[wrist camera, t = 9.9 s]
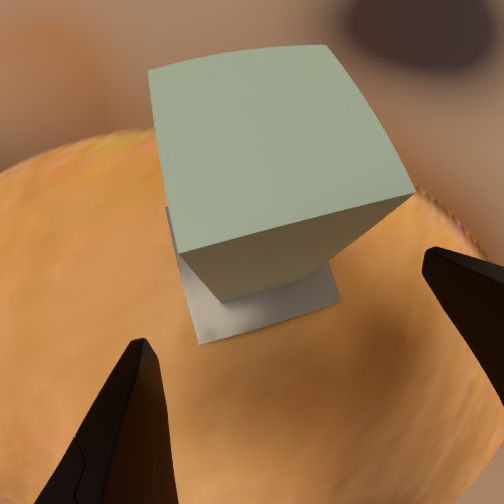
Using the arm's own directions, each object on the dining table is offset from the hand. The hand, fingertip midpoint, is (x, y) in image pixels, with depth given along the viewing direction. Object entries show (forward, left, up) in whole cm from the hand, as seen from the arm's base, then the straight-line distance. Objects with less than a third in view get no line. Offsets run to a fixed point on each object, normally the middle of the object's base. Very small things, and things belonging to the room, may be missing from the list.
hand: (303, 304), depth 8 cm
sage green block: (+3, -2, -9) cm, 10 cm away
